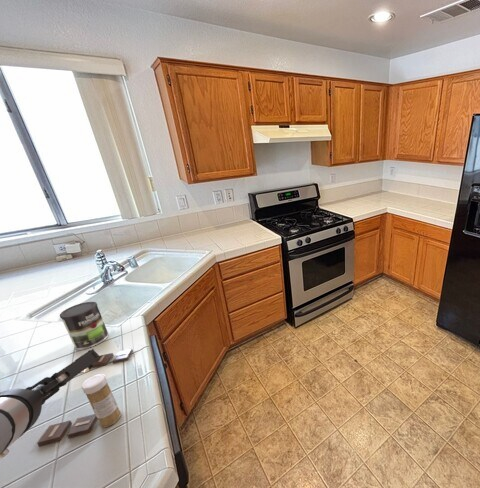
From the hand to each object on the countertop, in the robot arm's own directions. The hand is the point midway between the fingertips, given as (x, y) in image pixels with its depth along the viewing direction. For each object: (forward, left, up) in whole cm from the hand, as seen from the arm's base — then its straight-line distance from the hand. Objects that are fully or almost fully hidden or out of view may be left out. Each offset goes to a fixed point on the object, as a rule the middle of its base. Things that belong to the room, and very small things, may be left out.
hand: (55, 380), depth 57 cm
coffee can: (-20, +46, -20) cm, 54 cm away
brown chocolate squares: (-6, +5, -20) cm, 21 cm away
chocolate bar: (-11, +31, -20) cm, 38 cm away
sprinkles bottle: (+3, +5, -20) cm, 21 cm away
